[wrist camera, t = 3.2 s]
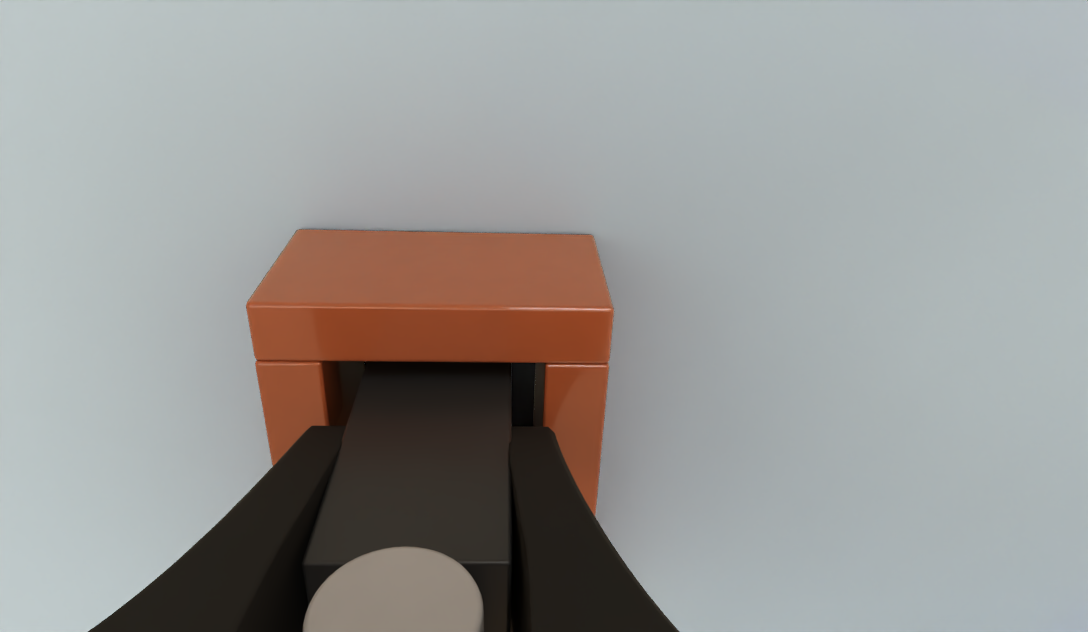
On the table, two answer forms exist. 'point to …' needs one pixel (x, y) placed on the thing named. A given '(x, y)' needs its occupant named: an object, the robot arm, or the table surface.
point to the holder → (435, 325)
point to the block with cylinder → (418, 505)
